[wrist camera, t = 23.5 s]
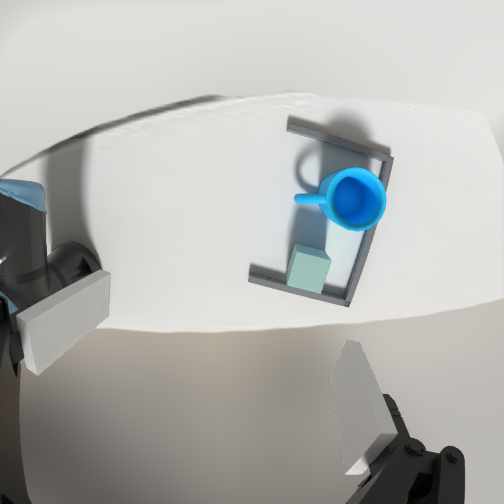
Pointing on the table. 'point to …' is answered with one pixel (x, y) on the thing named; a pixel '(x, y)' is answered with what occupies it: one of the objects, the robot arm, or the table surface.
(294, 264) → the block
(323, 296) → the tray frame
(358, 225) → the mug
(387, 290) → the table surface
